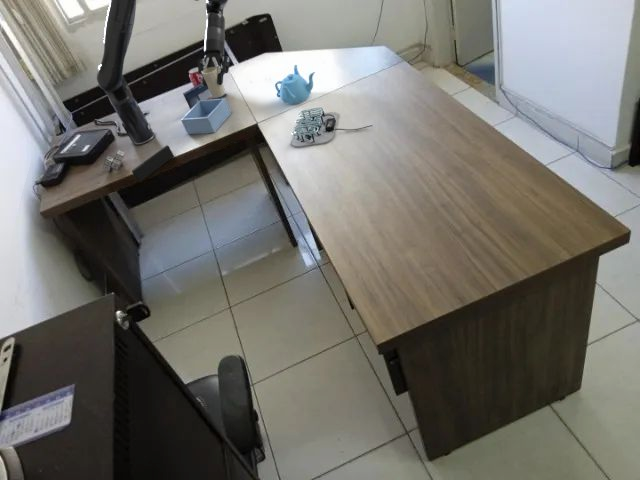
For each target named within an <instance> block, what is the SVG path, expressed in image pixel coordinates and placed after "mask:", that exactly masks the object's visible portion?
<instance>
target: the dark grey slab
mask: <svg viewBox="0 0 640 480" xmlns="http://www.w3.org/2000/svg"><path fill="white" fill-rule="evenodd" d="M174 157H175V155H174V153H173V151H172V149H171V147H170V146H169V145H167V144H166V145H165V146H164V147H162V148H161V149H160V150H158V151H157V152H156V153H154V154H153V155H151V156H150V157H148V158H147V159H145V161H143V162H142V163H141V164H139V165H137V166H136V167H135V168H134V169H132V170H131V173H132V174H133V176H134V177H135V179H136V181H137V182H139V183H141V182H142V181H144V180H145V179H146V178H148V177H149V176H150V175H152V174H153V173H154V172H155V171H157V170H158V169H160V168H161V167H162V166H163V165H165V164H166V163H167V162H169V161H170V160H172V159H173V158H174Z"/></svg>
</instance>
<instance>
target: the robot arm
mask: <svg viewBox="0 0 640 480" xmlns="http://www.w3.org/2000/svg"><path fill="white" fill-rule="evenodd" d="M194 1H197V2H198V1H199V0H194ZM228 1H229V0H205V12H206V24H205V27H206V28H205V33H204V48H203V51H204V57H203V58H202V59H201V58H197V67H198V73H199V74H200V75H202V71H203V70H205V69H207V68H209V67H216V68H217V71H218V73H219V74H218V76H217V84H219V85H222V83H223V84H224V76H225V74H229V69H230V64H231V58H230V57H229V56H227V55H225V45H226V44H225V43H226V42H225V41H226V33H225V32H226V31H225V30H226V18H225V15H224V8H225V6H226V5H227V3H228ZM136 9H137V0H110V4H109V7H108V10H107V14H106V15H107V16H106V21H105V27H104V38H103V39H104V40H103V55H102V59H101V63H100V65H98V67H97V69H96V71H95V72H96V74H95V76H96V77H95V78H96V82H97V84H98V86H99V88H100V89H102V90H103V91H104V92H105V93H106V96H107V97H108V101H109V102H110V104H111V106H112V108H113V109H114V111H115V113H116V114H117V116H118V118H119V120H120V121H121V126H122V128H123V129H124V131H125V132H120V125H119V122H117V121H115V120H105V121H103V120H100V119H97V118H95V119H94V123H96V122H98V123H100V124H110V123H112V124H115V126H116V134H118V135H122V136H128V138H129V140H130V141H131V143H132V144H134V145H136V146H139V145H144V144H147V143H148V142H150V141H152V140H153V139H154V137H155V136H156V133H155V132H154V131H153V129H152V125H151V123H150V122H148V120H147V118H146V116H145V114H144V113H143V111H142V108H140V107H141V106H140V105H139V103H138V102H137V100H136V98H135V97H134V95H133V92H132V90H131V87H129V84H128V82H127V80H126V78H125V77H124V75H123V70H124V63H125V58H126V55H127V51H128V49H129V45H130V42H131V38H132V34H133V29H134V24H135V20H136ZM202 76H203V75H202ZM202 83H203V85H204V86H207V84H206V82H205V79H204V77H203V78H202Z"/></svg>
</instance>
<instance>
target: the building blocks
mask: <svg viewBox="0 0 640 480" xmlns="http://www.w3.org/2000/svg"><path fill="white" fill-rule="evenodd" d="M125 155H126V153H125V152H124V151H123V150H120V149H118V150H117V151H116V153H115V156H114V157H112V156H110V155H107V156H106V158H105V160H104V163H103V165H102V170H105V171H106V172H110V171H111V169H114V170H118V169H119V168H120V166H121V165H122V163H123V160H124V157H125Z"/></svg>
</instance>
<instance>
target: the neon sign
mask: <svg viewBox="0 0 640 480" xmlns="http://www.w3.org/2000/svg"><path fill="white" fill-rule="evenodd" d="M298 117H299V119H296V121H295V123H296V124H297V125H294V129H293V130H292V131H291V135H292V136H293V138H292V140H291V145H292V147H294V148H304V147H312V146H320V145H325V144H328V143H330V142H331V141H332V140H334V137H335V131H337V130H338V131H357V130H362V129H366V128H370V127H373V124H371V125H366V126H363V127H359V128H353V129H352V128H351V129H348V128H347V129H346V128H336V127H337V123H338V119H339V115H338V113H337V112H333V111H332V112H331V111H330V112H325V110H324V107H319V106H318V107H312V108H307V109H303V110H301V111H299V113H298Z"/></svg>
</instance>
